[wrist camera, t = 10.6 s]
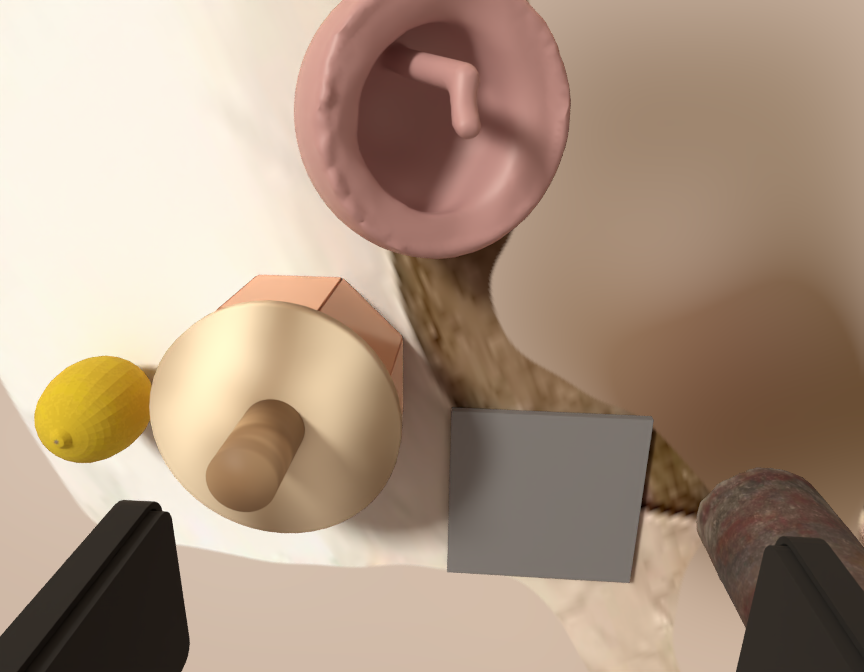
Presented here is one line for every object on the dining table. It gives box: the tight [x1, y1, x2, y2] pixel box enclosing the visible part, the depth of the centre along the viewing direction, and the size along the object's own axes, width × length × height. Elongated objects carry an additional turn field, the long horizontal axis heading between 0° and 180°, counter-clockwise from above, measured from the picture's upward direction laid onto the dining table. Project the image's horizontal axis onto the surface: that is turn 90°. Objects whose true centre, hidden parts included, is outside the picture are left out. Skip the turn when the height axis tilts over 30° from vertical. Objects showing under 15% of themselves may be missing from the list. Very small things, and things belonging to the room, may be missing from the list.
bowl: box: [216, 275, 403, 414], centre depth 38 cm, size 12×12×6 cm
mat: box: [447, 407, 653, 583], centre depth 42 cm, size 12×12×1 cm
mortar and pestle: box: [294, 0, 571, 259], centre depth 30 cm, size 12×12×11 cm
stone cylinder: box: [696, 468, 864, 627], centre depth 33 cm, size 8×7×20 cm
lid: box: [149, 300, 402, 533], centre depth 32 cm, size 13×13×6 cm
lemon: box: [34, 356, 152, 463], centre depth 38 cm, size 6×6×8 cm
